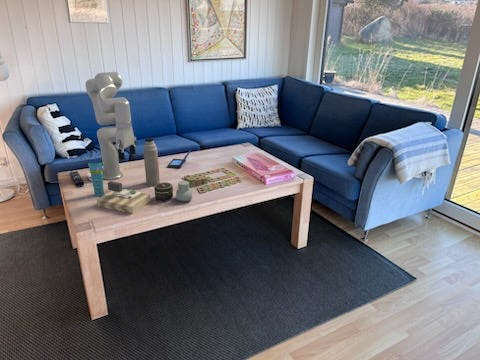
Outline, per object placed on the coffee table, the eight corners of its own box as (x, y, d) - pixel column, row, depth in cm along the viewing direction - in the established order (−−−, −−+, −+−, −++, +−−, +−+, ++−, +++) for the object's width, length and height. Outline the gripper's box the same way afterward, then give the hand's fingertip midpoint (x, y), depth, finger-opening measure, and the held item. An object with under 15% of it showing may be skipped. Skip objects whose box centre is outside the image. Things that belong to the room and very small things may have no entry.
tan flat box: (97, 206, 196) (96, 198, 194) (118, 193, 211) (117, 186, 209) (132, 213, 189) (131, 205, 187) (151, 199, 204) (151, 192, 202)
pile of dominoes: (199, 195, 211) (199, 186, 209) (177, 180, 231) (177, 171, 229) (248, 181, 231) (248, 173, 228) (223, 168, 251) (223, 161, 248)
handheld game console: (173, 160, 263) (172, 148, 260) (191, 161, 262) (191, 149, 258) (166, 168, 249) (165, 155, 245) (186, 169, 247) (185, 156, 244)
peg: (109, 194, 199) (107, 182, 196) (111, 192, 201) (110, 181, 199) (129, 198, 195) (128, 186, 192) (132, 196, 197) (131, 185, 194)
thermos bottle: (161, 181, 227) (158, 137, 216) (156, 186, 220) (153, 141, 209) (149, 180, 229) (145, 136, 218) (144, 185, 222) (139, 140, 211)
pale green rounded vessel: (177, 195, 210) (176, 178, 206) (192, 195, 210) (191, 178, 206) (176, 203, 200) (175, 186, 196) (191, 203, 200) (190, 186, 196)
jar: (165, 192, 212) (164, 180, 210) (177, 197, 207) (176, 185, 204) (151, 198, 205) (150, 185, 202) (163, 203, 200) (162, 190, 197)
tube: (92, 196, 206) (87, 164, 199) (93, 193, 210) (88, 161, 203) (106, 195, 208) (101, 163, 200) (106, 192, 212) (102, 160, 205)
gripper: (127, 120, 198) (130, 151, 204) (107, 128, 183) (111, 161, 189) (139, 121, 196) (142, 152, 202) (120, 129, 180) (123, 162, 187)
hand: (127, 156), depth 196 cm, fingers open, 9 cm apart
